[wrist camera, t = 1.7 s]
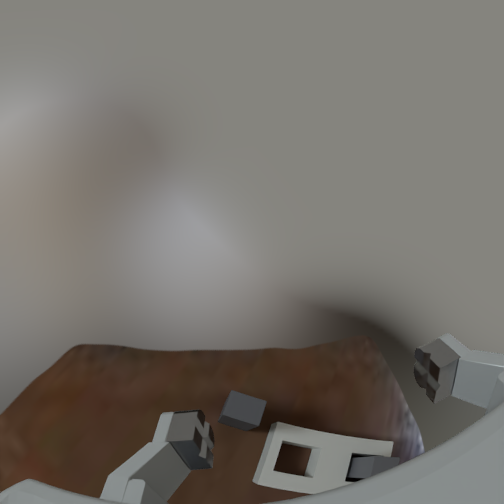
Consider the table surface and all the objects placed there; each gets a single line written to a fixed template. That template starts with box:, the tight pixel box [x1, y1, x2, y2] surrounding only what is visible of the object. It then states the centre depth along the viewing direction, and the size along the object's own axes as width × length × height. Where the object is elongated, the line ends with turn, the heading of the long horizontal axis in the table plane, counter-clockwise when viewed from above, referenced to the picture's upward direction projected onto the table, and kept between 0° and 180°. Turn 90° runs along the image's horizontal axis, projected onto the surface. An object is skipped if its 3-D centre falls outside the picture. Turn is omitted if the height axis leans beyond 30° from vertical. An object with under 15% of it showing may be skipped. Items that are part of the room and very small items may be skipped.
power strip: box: [253, 422, 400, 494], centre depth 23 cm, size 20×18×8 cm
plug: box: [218, 390, 267, 431], centre depth 30 cm, size 3×4×9 cm
